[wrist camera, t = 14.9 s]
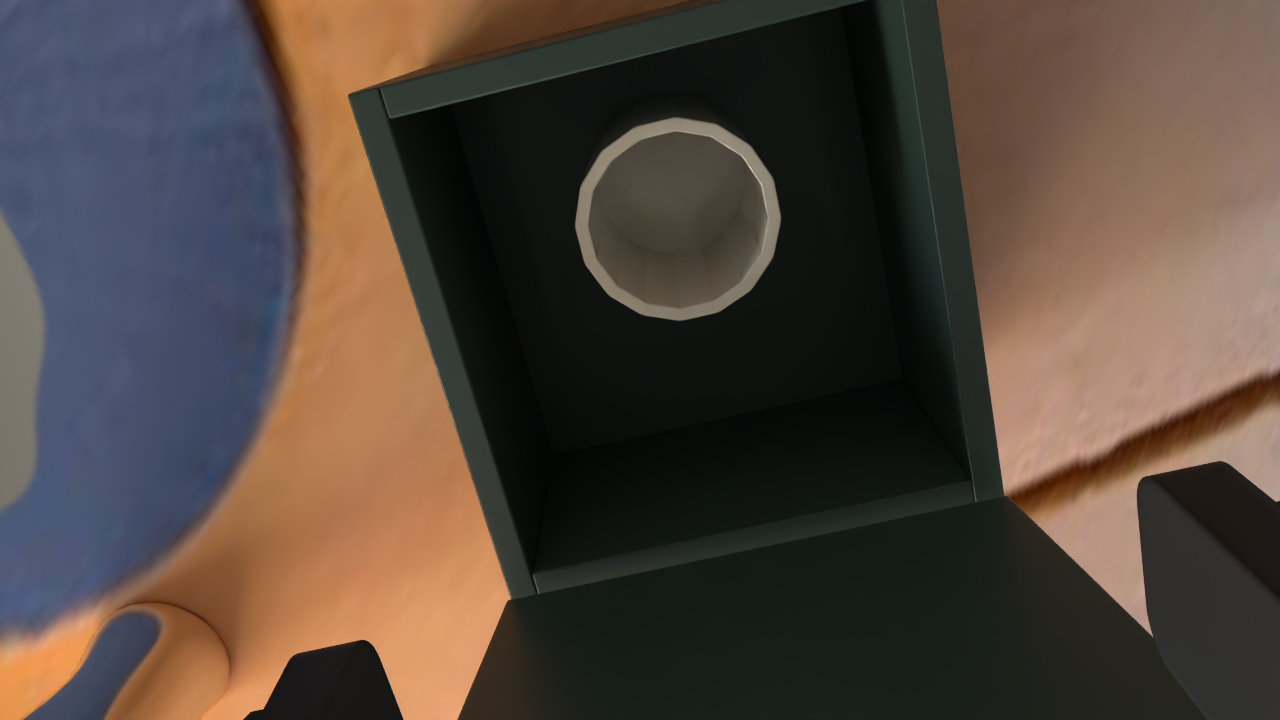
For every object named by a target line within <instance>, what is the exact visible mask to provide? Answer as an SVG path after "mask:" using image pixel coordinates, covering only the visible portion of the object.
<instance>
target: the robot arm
mask: <svg viewBox="0 0 1280 720" xmlns="http://www.w3.org/2000/svg"><path fill="white" fill-rule="evenodd" d="M1137 507H1138V519H1139V530H1140V541H1141V552H1142V563H1143V574H1144V585H1145V596H1146V607H1147V614H1148V619H1149V623H1150V627H1151V631H1152V634H1153V637H1154V640H1155V642H1156V645H1157V648H1158V650H1159V652H1160V654H1161V656H1162V658H1163V660H1164V662H1165V664H1166V666H1167V667H1168V669H1169V671H1170V672H1171V674H1172V675H1173V676H1174V678H1175V679H1176V680H1177V681H1178V683H1179V684H1180V685H1181V687H1182V688H1183V689H1184V690H1185V692H1186V693H1187V694H1188V696H1189V697H1190V698H1191V699H1192V701H1193V702H1194V703H1195V705H1196V706H1197V707H1198V708H1199V710H1200V711H1201V712H1202V714H1203V715H1204V716H1205V717H1206V719H1207V720H1280V501H1278V502H1275V501H1274V500H1273V499H1272V498H1270V497H1269V496H1268V495H1267V494H1265V493H1264V492H1263V491H1262V490H1260V489H1259V488H1258V487H1257V486H1255V485H1254V484H1253V483H1252V482H1251V481H1249V480H1248V479H1247V478H1246V477H1244V476H1243V475H1242V474H1241V473H1239V472H1238V471H1237V470H1236V469H1234V468H1233V467H1232V466H1230V465H1229V464H1227V463H1225V462H1222V461H1217V462H1212V463H1208V464H1203V465H1198V466H1193V467H1189V468H1184V469H1179V470H1174V471H1170V472H1165V473H1160V474H1156V475H1151V476H1146V477H1143V478H1142V479H1141V480H1140V482H1139V484H1138V489H1137ZM243 720H403V717H402V715H401V712H400V709H399V707H398V704H397V702H396V699H395V696H394V694H393V691H392V689H391V686H390V683H389V681H388V678H387V676H386V673H385V671H384V668H383V665H382V663H381V660H380V658H379V656H378V653H377V652H376V650H375V648H374V647H373V646H372V644H370V643H369V642H368V641H366V640H359V641H355V642H350V643H345V644H340V645H336V646H331V647H326V648H321V649H317V650H312V651H307V652H302V653H298V654H296V655H294V656H293V657H292V658H291V659H290V660H289V662H288V663H287V665H286V667H285V669H284V671H283V673H282V675H281V677H280V679H279V681H278V683H277V684H276V686H275V688H274V690H273V692H272V694H271V696H270V698H269V700H268V702H267V704H266V706H265V708H264V709H263V710H258V711H253V712H250V713H249V714H248V715H247V716H246V717H245V718H244V719H243Z"/></svg>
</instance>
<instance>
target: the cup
mask: <svg viewBox="0 0 1280 720" xmlns="http://www.w3.org/2000/svg"><path fill="white" fill-rule="evenodd" d="M780 224H781V213H780V207H779V202H778V197H777V192H776V187H775V182H774V180H773V177H772V175H771V174H770V172H769V171H768V170H767V168H766V167H765V165H764V164H763V162H762V161H761V159H760V158H759V156H758V155H757V153H756V152H755V150H754V149H753V147H752V146H751V145H750V143H749V142H748V140H747V139H746V138H745V136H744V135H743V134H742V132H741V131H740V129H739V128H738V127H737V125H736V124H735V122H734V121H733V120H732V119H731V118H730V117H729V116H727V115H726V114H724V113H723V112H722V111H720V110H719V109H717V108H716V107H714V106H712V105H711V104H709V103H707V102H705V101H703V100H701V99H697V98H693V97H689V96H683V95H661V96H655V97H651V98H648V99H645V100H642V101H639V102H637V103H634V104H633V105H631V106H630V107H628V108H626V109H625V110H623V111H622V112H621V113H620V114H618V115H617V116H616V117H615V118H614V119H613V120H611V121H610V122H609V123H608V124H607V126H606V128H605V129H604V131H603V132H602V134H601V135H600V137H599V139H598V141H597V143H596V144H595V146H594V148H593V149H592V151H591V154H590V158H589V161H588V164H587V167H586V170H585V174H584V177H583V180H582V183H581V187H580V192H579V199H578V206H577V213H576V220H575V229H576V233H577V237H578V240H579V244H580V248H581V252H582V256H583V259H584V263H585V265H586V267H587V268H588V269H589V270H590V272H591V273H592V274H593V276H594V277H595V278H596V280H597V281H598V282H599V284H600V285H601V286H602V288H603V289H604V290H605V291H606V293H607V294H608V295H609V296H610V297H612V298H614V299H616V300H617V301H619V302H621V303H622V304H624V305H626V306H627V307H629V308H631V309H632V310H634V311H636V312H638V313H639V314H642V315H645V316H651V317H658V318H664V319H671V320H677V321H680V320H681V321H683V320H687V319H692V318H696V317H701V316H705V315H709V314H714V313H718V311H719V312H720V311H722V310H723V309H724V308H726V307H727V306H729V305H730V304H732V303H733V302H735V301H736V300H738V299H739V298H741V297H742V296H744V295H745V294H747V293H748V292H750V290H751V289H753V287H754V286H755V284H756V283H757V281H758V280H759V278H760V277H761V275H762V274H763V272H764V271H765V269H766V268H767V266H768V265H769V263H770V262H771V260H772V259H773V256H774V253H775V248H776V243H777V238H778V234H779V229H780Z"/></svg>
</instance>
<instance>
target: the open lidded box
mask: <svg viewBox="0 0 1280 720" xmlns="http://www.w3.org/2000/svg"><path fill="white" fill-rule="evenodd" d="M661 95H683V96H689V97H693V98H697V99H701V100H703V101H705V102H707V103H709V104H711V105H712V106H714V107H716V108H717V109H719V110H720V111H722V112H723V113H724V114H726V115H727V116H729V117H730V118H731V119H732V120H733V121H734V122H735V124H736V125H737V127H738V128H739V129H740V131H741V132H742V134H743V135H744V136H745V138H746V139H747V140H748V142H749V143H750V145H751V146H752V147H753V149H754V150H755V152H756V153H757V155H758V156H759V158H760V159H761V161H762V162H763V164H764V165H765V167H766V168H767V170H768V171H769V172H770V174H771V175H772V177H773V180H774V182H775V187H776V192H777V197H778V202H779V207H780V213H781V224H780V229H779V234H778V238H777V243H776V248H775V253H774V256H773V259H772V260H771V262H770V263H769V265H768V266H767V268H766V269H765V271H764V272H763V274H762V275H761V277H760V278H759V280H758V281H757V283H756V284H755V286H754V287H753V289H751V290H750V292H748V293H747V294H745V295H744V296H742V297H741V298H739V299H738V300H736V301H735V302H733V303H732V304H730V305H729V306H727V307H726V308H724V309H723V310H722V311H720V312H719V311H718V313H714V314H709V315H705V316H701V317H696V318H692V319H687V320H683V321H681V320H680V321H677V320H671V319H664V318H658V317H651V316H645V315H642V314H639V313H638V312H636V311H634V310H632V309H631V308H629V307H627V306H626V305H624V304H622V303H621V302H619V301H617V300H616V299H614V298H612V297H610V296H609V295H608V294H607V293H606V291H605V290H604V289H603V288H602V286H601V285H600V284H599V282H598V281H597V280H596V278H595V277H594V276H593V274H592V273H591V272H590V270H589V269H588V268H587V267H586V265H585V263H584V259H583V256H582V252H581V248H580V244H579V240H578V237H577V233H576V229H575V220H576V213H577V206H578V199H579V192H580V187H581V183H582V180H583V177H584V174H585V170H586V167H587V164H588V161H589V158H590V154H591V151H592V149H593V148H594V146H595V144H596V143H597V141H598V139H599V137H600V135H601V134H602V132H603V131H604V129H605V128H606V126H607V124H608V123H609V122H610V121H611V120H613V119H614V118H615V117H616V116H617V115H618V114H620V113H621V112H622V111H623V110H625V109H626V108H628V107H630V106H631V105H633V104H634V103H637V102H639V101H642V100H645V99H648V98H651V97H655V96H661ZM348 99H349V102H350V105H351V108H352V111H353V114H354V117H355V120H356V123H357V126H358V129H359V132H360V136H361V139H362V142H363V145H364V148H365V151H366V154H367V157H368V160H369V163H370V166H371V169H372V173H373V176H374V179H375V182H376V185H377V188H378V191H379V194H380V197H381V200H382V203H383V206H384V210H385V213H386V216H387V219H388V222H389V225H390V228H391V231H392V234H393V237H394V240H395V243H396V246H397V250H398V253H399V256H400V259H401V262H402V265H403V268H404V271H405V274H406V277H407V280H408V283H409V287H410V290H411V293H412V296H413V299H414V302H415V305H416V308H417V311H418V314H419V317H420V320H421V324H422V327H423V330H424V333H425V336H426V339H427V342H428V345H429V348H430V351H431V354H432V357H433V360H434V364H435V367H436V370H437V373H438V376H439V379H440V382H441V385H442V388H443V391H444V394H445V397H446V401H447V404H448V407H449V410H450V413H451V416H452V419H453V422H454V425H455V428H456V431H457V434H458V438H459V441H460V444H461V447H462V450H463V453H464V456H465V459H466V462H467V465H468V468H469V471H470V475H471V478H472V481H473V484H474V487H475V490H476V493H477V496H478V499H479V502H480V505H481V508H482V511H483V515H484V518H485V521H486V524H487V527H488V530H489V533H490V536H491V539H492V542H493V545H494V548H495V552H496V555H497V558H498V561H499V564H500V567H501V570H502V573H503V576H504V579H505V582H506V585H507V589H508V592H509V595H510V598H511V600H512V599H517V598H522V597H527V596H531V595H536V594H541V593H546V592H550V591H555V590H560V589H565V588H570V587H574V586H579V585H584V584H589V583H593V582H598V581H603V580H608V579H612V578H617V577H622V576H627V575H632V574H636V573H641V572H646V571H651V570H655V569H660V568H665V567H670V566H675V565H679V564H684V563H689V562H694V561H698V560H703V559H708V558H713V557H717V556H722V555H727V554H732V553H737V552H741V551H746V550H751V549H756V548H760V547H765V546H770V545H775V544H780V543H784V542H789V541H794V540H799V539H803V538H808V537H813V536H818V535H822V534H827V533H832V532H837V531H842V530H846V529H851V528H856V527H861V526H865V525H870V524H875V523H880V522H885V521H889V520H894V519H899V518H904V517H908V516H913V515H918V514H923V513H927V512H932V511H937V510H942V509H947V508H951V507H956V506H961V505H966V504H970V503H975V502H980V501H985V500H989V499H994V498H999V497H1004V491H1003V484H1002V477H1001V470H1000V462H999V455H998V448H997V440H996V433H995V426H994V418H993V411H992V404H991V397H990V389H989V382H988V375H987V367H986V360H985V353H984V346H983V338H982V331H981V324H980V316H979V309H978V302H977V295H976V287H975V280H974V273H973V265H972V258H971V251H970V244H969V236H968V229H967V222H966V214H965V207H964V200H963V193H962V185H961V178H960V171H959V163H958V156H957V149H956V142H955V134H954V127H953V120H952V112H951V105H950V98H949V91H948V83H947V76H946V69H945V61H944V54H943V47H942V40H941V32H940V25H939V18H938V10H937V3H936V0H691V1H687V2H683V3H679V4H675V5H671V6H667V7H663V8H659V9H655V10H651V11H647V12H644V13H640V14H636V15H632V16H628V17H624V18H620V19H616V20H612V21H608V22H604V23H600V24H596V25H592V26H588V27H584V28H580V29H576V30H572V31H568V32H564V33H560V34H556V35H553V36H549V37H545V38H541V39H537V40H533V41H529V42H525V43H521V44H517V45H513V46H509V47H505V48H501V49H497V50H493V51H489V52H485V53H481V54H477V55H473V56H469V57H466V58H462V59H458V60H454V61H450V62H446V63H442V64H438V65H434V66H430V67H426V68H422V69H419V70H416V71H413V72H410V73H408V74H405V75H402V76H399V77H396V78H393V79H390V80H388V81H385V82H382V83H379V84H376V85H373V86H370V87H367V88H365V89H362V90H359V91H356V92H353V93H350V94H349V95H348Z"/></svg>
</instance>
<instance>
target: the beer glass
mask: <svg viewBox="0 0 1280 720" xmlns="http://www.w3.org/2000/svg"><path fill="white" fill-rule="evenodd" d="M229 677H230V662H229V657H228V654H227V651H226V649H225V646H224V644H223V643H222V641H221V639H220V638H219V636H218V635H217V634H216V633H215V631H214V630H213V629H212V628H211V627H210V626H209V625H208V624H206V623H205V622H204V621H203V620H201V619H200V618H199V617H197V616H195V615H194V614H192V613H190V612H188V611H186V610H184V609H181V608H178V607H175V606H171V605H167V604H161V603H140V604H134V605H130V606H127V607H124V608H121V609H119V610H117V611H115V612H114V613H112V614H111V615H109V616H108V617H107V618H105V619H104V620H103V621H102V622H101V623H100V624H99V626H98V627H97V628H96V630H95V631H94V633H93V634H92V636H91V638H90V640H89V642H88V644H87V646H86V648H85V650H84V652H83V654H82V656H81V658H80V660H79V662H78V664H77V665H76V667H75V669H74V670H73V671H72V673H71V674H70V675H69V677H68V678H67V679H66V680H65V681H64V682H63V683H62V684H61V685H60V686H59V687H58V688H57V689H56V690H55V691H54V692H53V693H51V694H50V695H49V696H48V697H47V698H45V699H44V700H43V701H42V702H41V703H39V704H38V705H37V706H35V707H34V708H33V709H32V710H30V711H29V712H28V713H26V714H25V715H24V716H23V717H21V718H20V719H19V720H201V719H202V718H203V717H204V716H205V715H206V714H207V713H208V712H209V711H210V710H211V709H212V708H213V707H214V706H215V705H216V704H217V703H218V701H219V700H220V699H221V697H222V696H223V694H224V693H225V691H226V688H227V686H228V682H229Z"/></svg>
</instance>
